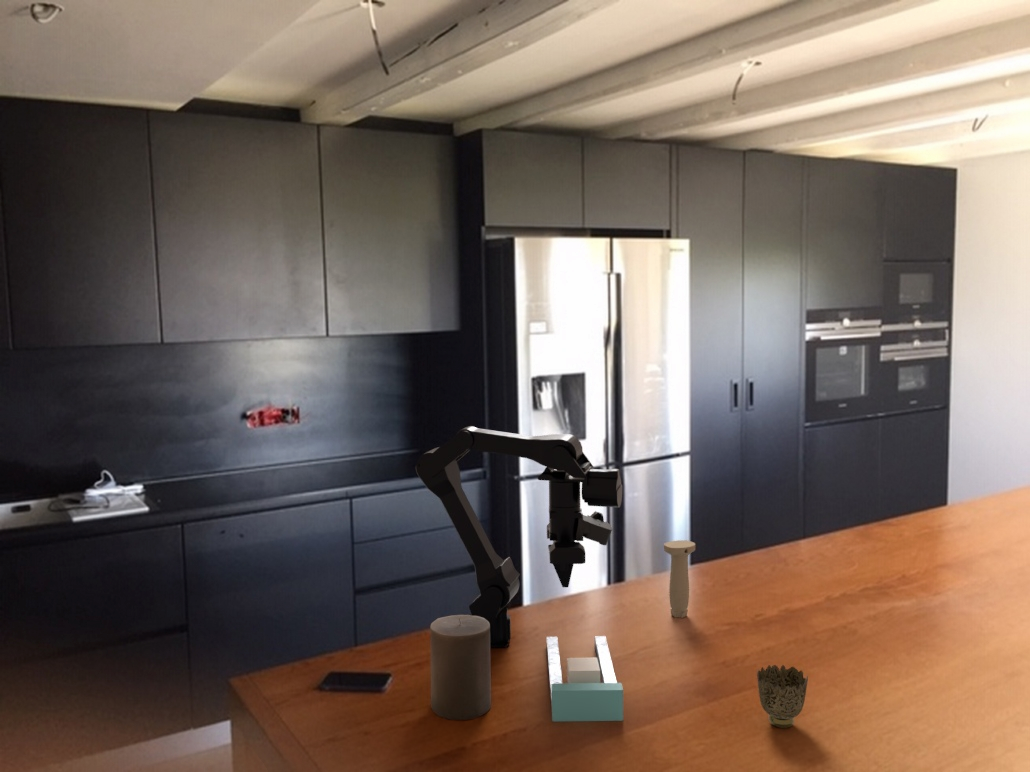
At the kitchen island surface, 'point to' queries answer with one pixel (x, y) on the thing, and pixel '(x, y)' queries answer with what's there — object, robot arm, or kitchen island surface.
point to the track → (585, 689)
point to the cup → (781, 694)
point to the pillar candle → (460, 667)
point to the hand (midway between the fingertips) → (565, 586)
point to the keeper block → (583, 670)
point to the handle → (679, 575)
